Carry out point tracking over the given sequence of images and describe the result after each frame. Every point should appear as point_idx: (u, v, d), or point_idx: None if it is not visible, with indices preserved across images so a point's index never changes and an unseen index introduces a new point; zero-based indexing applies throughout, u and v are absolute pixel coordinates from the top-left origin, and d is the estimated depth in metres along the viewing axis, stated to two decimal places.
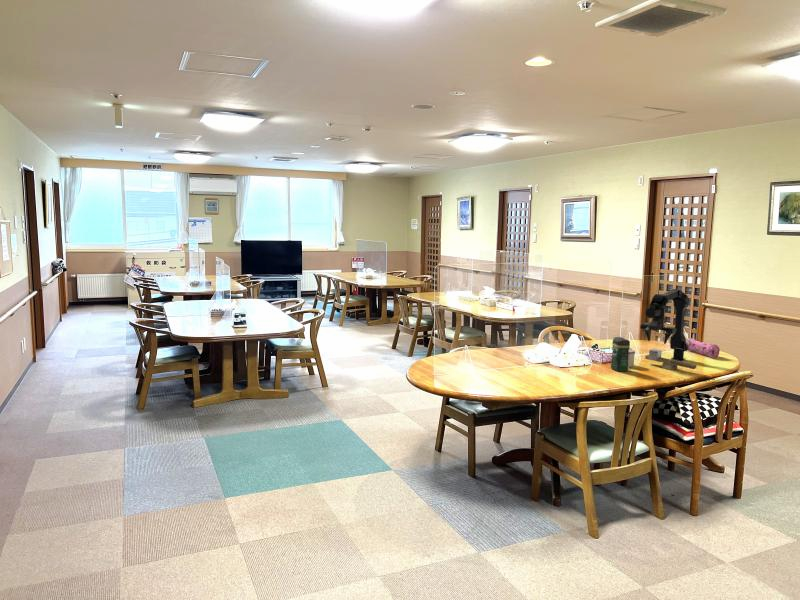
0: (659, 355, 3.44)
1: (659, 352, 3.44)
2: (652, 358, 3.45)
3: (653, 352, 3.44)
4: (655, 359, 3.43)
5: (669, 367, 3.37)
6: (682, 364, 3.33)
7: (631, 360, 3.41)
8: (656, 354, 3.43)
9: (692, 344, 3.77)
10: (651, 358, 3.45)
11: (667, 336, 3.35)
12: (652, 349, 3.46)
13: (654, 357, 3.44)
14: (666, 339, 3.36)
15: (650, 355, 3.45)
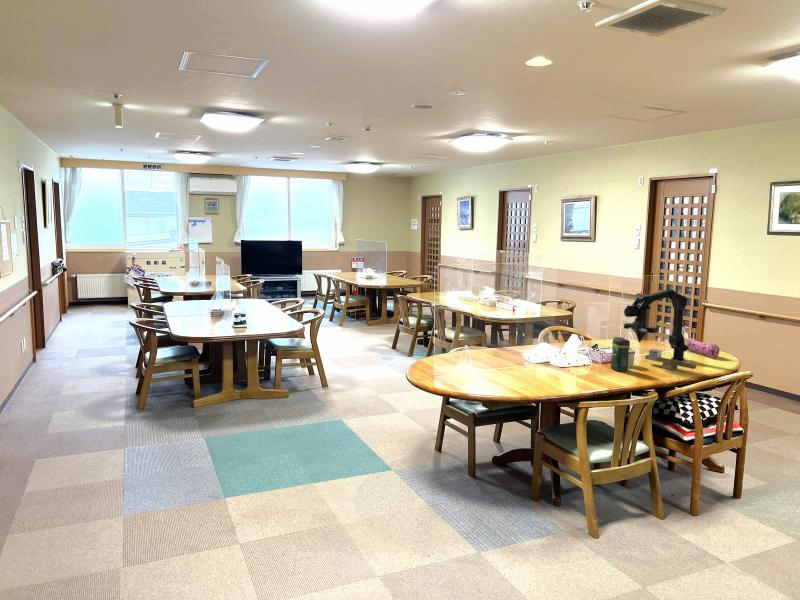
0: (659, 355, 3.44)
1: (659, 352, 3.44)
2: (652, 358, 3.45)
3: (653, 352, 3.44)
4: (655, 359, 3.43)
5: (669, 367, 3.37)
6: (682, 364, 3.33)
7: (631, 360, 3.41)
8: (656, 354, 3.43)
9: (692, 344, 3.77)
10: (651, 358, 3.45)
11: (642, 334, 3.49)
12: (652, 349, 3.46)
13: (654, 357, 3.44)
14: (641, 337, 3.50)
15: (650, 355, 3.45)
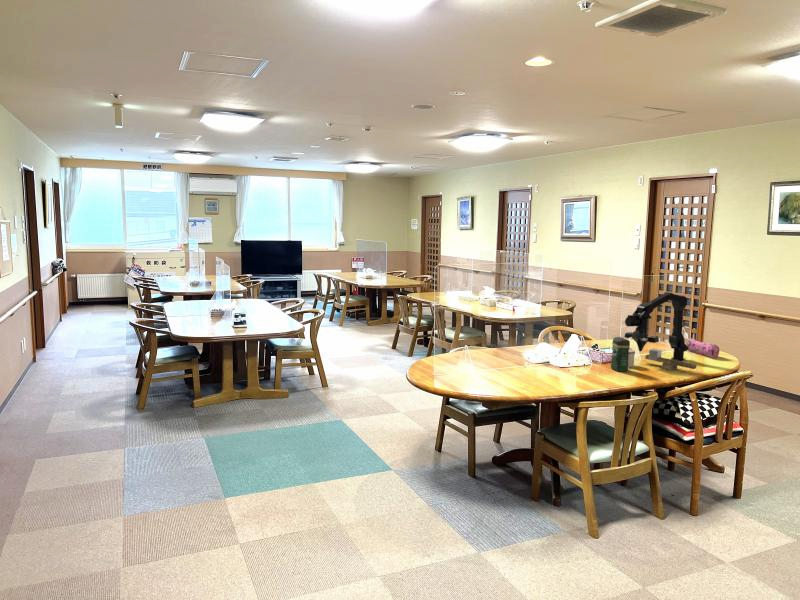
0: (659, 355, 3.44)
1: (659, 352, 3.44)
2: (652, 358, 3.45)
3: (653, 352, 3.44)
4: (655, 359, 3.43)
5: (669, 367, 3.37)
6: (682, 364, 3.33)
7: (631, 360, 3.41)
8: (656, 354, 3.43)
9: (692, 344, 3.77)
10: (651, 358, 3.45)
11: (643, 344, 3.49)
12: (652, 349, 3.46)
13: (654, 357, 3.44)
14: (642, 347, 3.51)
15: (650, 355, 3.45)
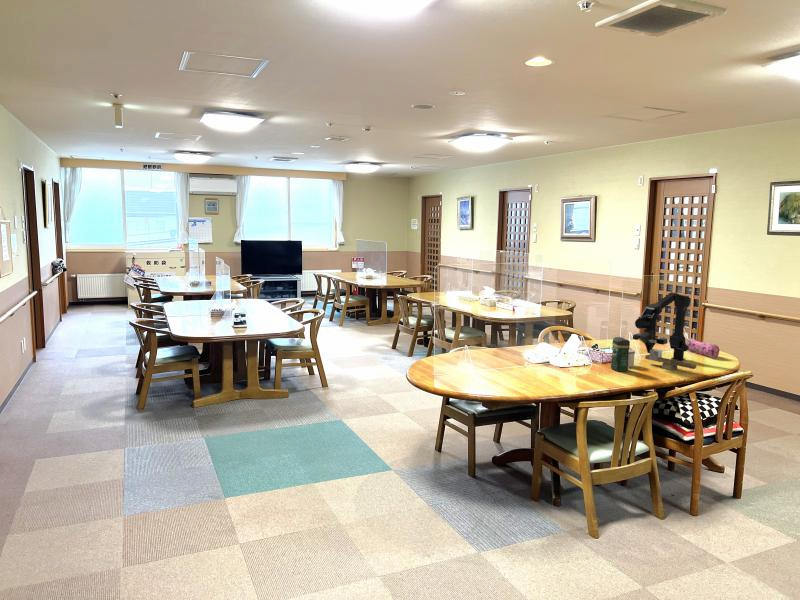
0: (660, 355, 3.44)
1: (660, 352, 3.43)
2: (652, 358, 3.44)
3: (653, 352, 3.44)
4: (656, 359, 3.43)
5: (669, 367, 3.37)
6: (682, 364, 3.33)
7: (631, 360, 3.41)
8: (657, 354, 3.42)
9: (692, 344, 3.77)
10: (652, 358, 3.45)
11: (651, 345, 3.46)
12: (653, 349, 3.46)
13: (655, 357, 3.43)
14: (650, 348, 3.47)
15: (651, 355, 3.45)
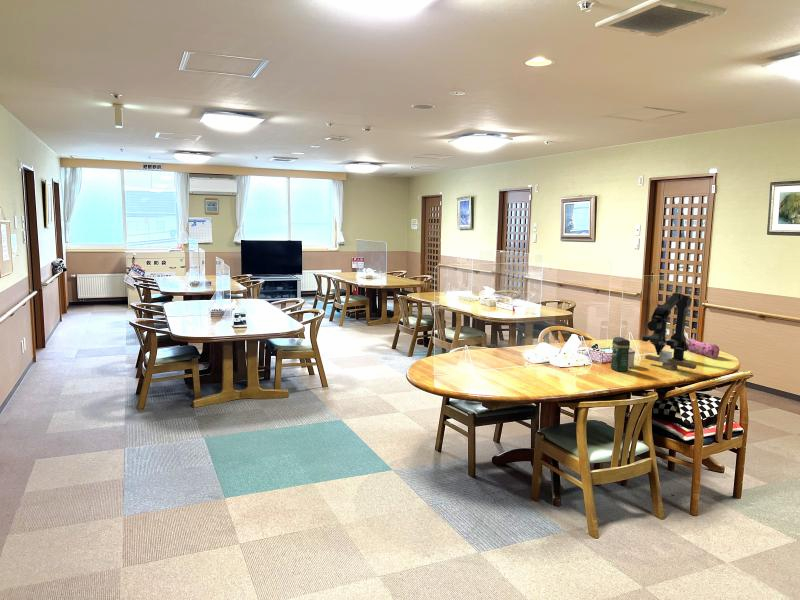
0: (669, 357, 3.40)
1: (669, 354, 3.39)
2: (662, 360, 3.40)
3: (663, 354, 3.40)
4: (665, 361, 3.39)
5: (669, 367, 3.37)
6: (682, 364, 3.33)
7: (631, 360, 3.41)
8: (666, 356, 3.38)
9: (692, 344, 3.77)
10: (661, 360, 3.40)
11: (661, 347, 3.41)
12: (662, 351, 3.42)
13: (664, 359, 3.39)
14: (660, 350, 3.43)
15: (660, 357, 3.41)
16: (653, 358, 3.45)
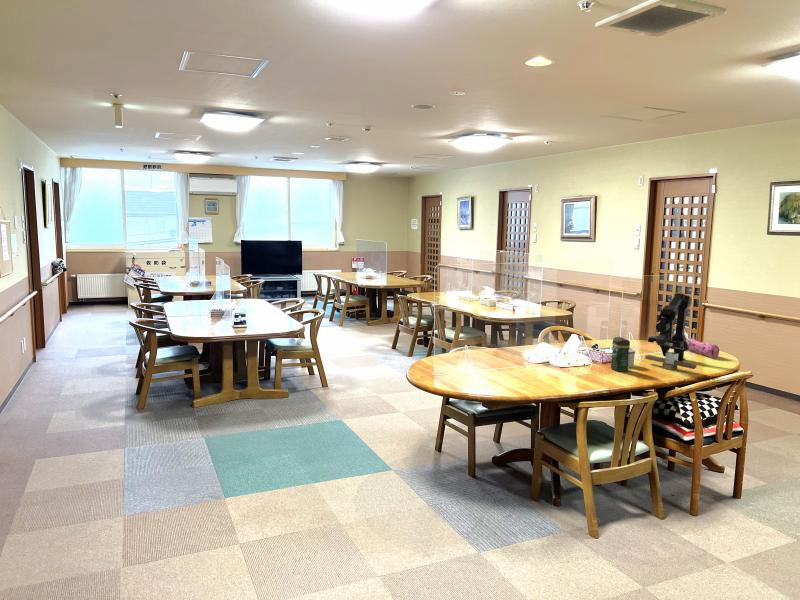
0: (676, 358, 3.37)
1: (676, 355, 3.36)
2: (668, 362, 3.38)
3: (669, 355, 3.37)
4: (672, 362, 3.36)
5: (669, 367, 3.37)
6: (682, 364, 3.33)
7: (631, 360, 3.41)
8: (673, 357, 3.36)
9: (692, 344, 3.77)
10: (668, 361, 3.38)
11: (667, 348, 3.39)
12: (668, 352, 3.39)
13: (671, 360, 3.37)
14: (666, 351, 3.40)
15: (666, 358, 3.38)
16: (653, 358, 3.45)
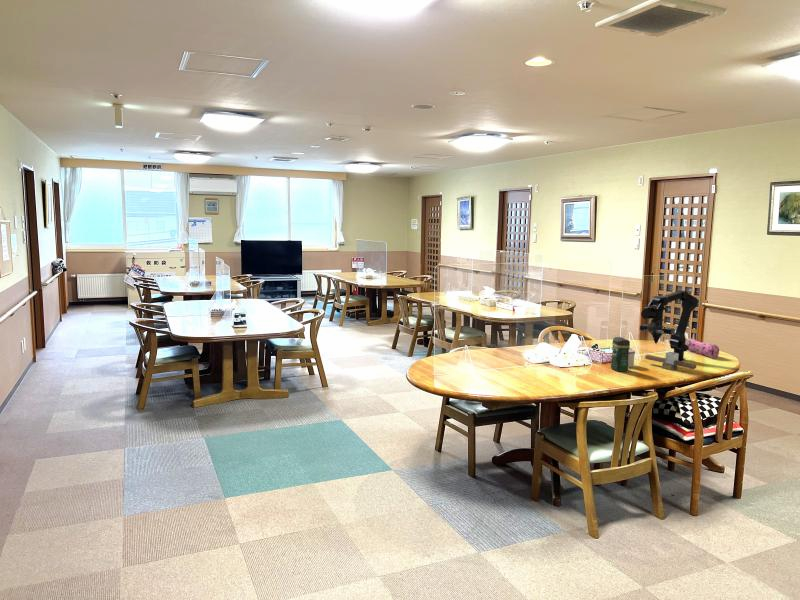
0: (676, 358, 3.37)
1: (676, 355, 3.36)
2: (668, 362, 3.37)
3: (670, 355, 3.37)
4: (672, 362, 3.36)
5: (669, 367, 3.37)
6: (682, 364, 3.33)
7: (631, 360, 3.41)
8: (673, 357, 3.35)
9: (692, 344, 3.77)
10: (668, 361, 3.38)
11: (658, 336, 3.49)
12: (669, 352, 3.39)
13: (671, 360, 3.36)
14: (657, 338, 3.50)
15: (667, 358, 3.38)
16: (653, 358, 3.45)
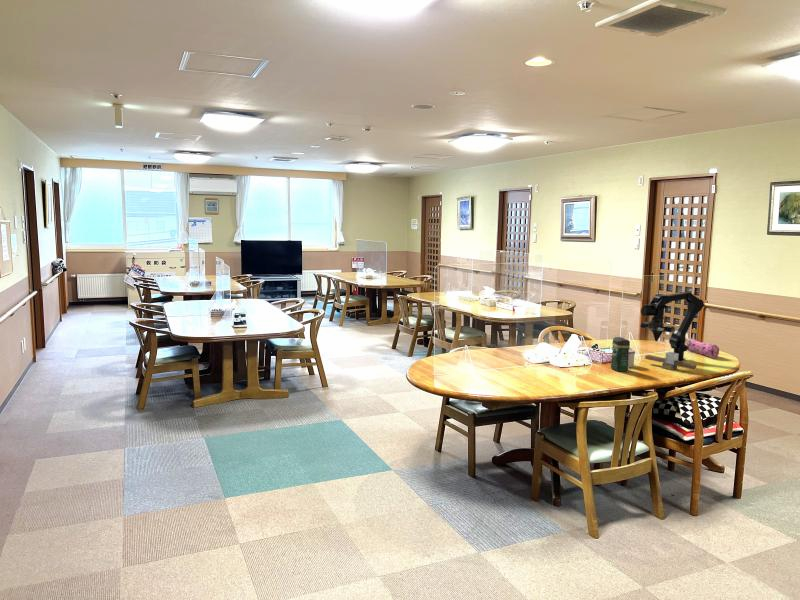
0: (676, 358, 3.37)
1: (676, 355, 3.36)
2: (668, 362, 3.37)
3: (670, 355, 3.37)
4: (672, 362, 3.36)
5: (669, 367, 3.37)
6: (682, 364, 3.33)
7: (631, 360, 3.41)
8: (673, 357, 3.35)
9: (692, 344, 3.77)
10: (668, 361, 3.38)
11: (659, 333, 3.53)
12: (669, 352, 3.39)
13: (671, 360, 3.36)
14: (658, 336, 3.54)
15: (667, 358, 3.38)
16: (653, 358, 3.45)
